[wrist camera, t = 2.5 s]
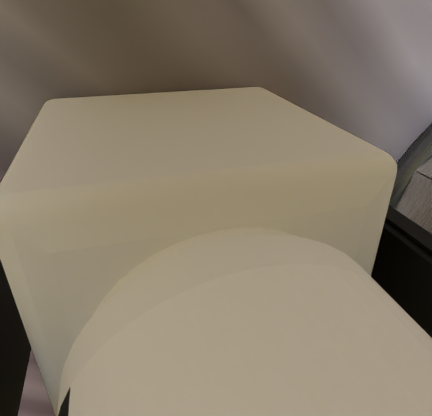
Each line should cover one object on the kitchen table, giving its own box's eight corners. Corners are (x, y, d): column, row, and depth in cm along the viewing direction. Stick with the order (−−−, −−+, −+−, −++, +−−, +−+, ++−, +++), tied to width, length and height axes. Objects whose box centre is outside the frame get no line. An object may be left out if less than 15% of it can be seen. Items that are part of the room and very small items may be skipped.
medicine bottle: (254, 253, 16) (512, 670, 6) (83, 282, 15) (46, 921, 4) (263, 84, 13) (898, 396, 3) (41, 96, 11) (-557, 1067, 1)
